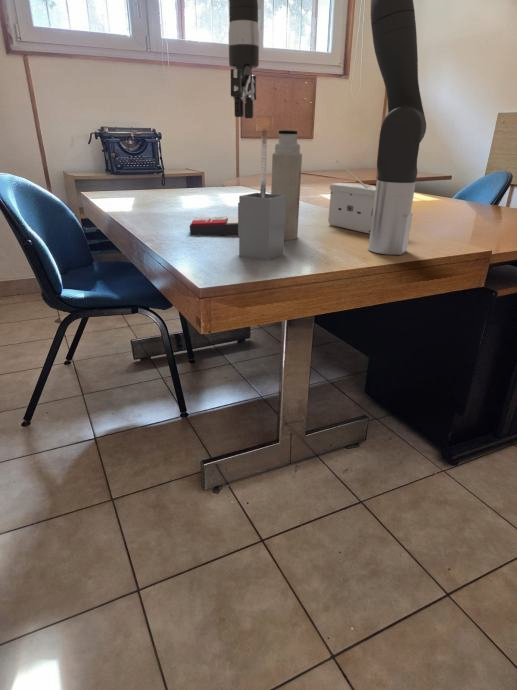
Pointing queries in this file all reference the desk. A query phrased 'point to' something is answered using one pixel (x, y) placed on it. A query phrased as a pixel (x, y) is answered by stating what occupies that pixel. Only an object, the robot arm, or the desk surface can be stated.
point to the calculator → (214, 226)
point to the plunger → (264, 147)
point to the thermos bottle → (288, 178)
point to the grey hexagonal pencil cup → (261, 225)
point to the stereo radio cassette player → (351, 205)
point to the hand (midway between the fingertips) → (244, 117)
